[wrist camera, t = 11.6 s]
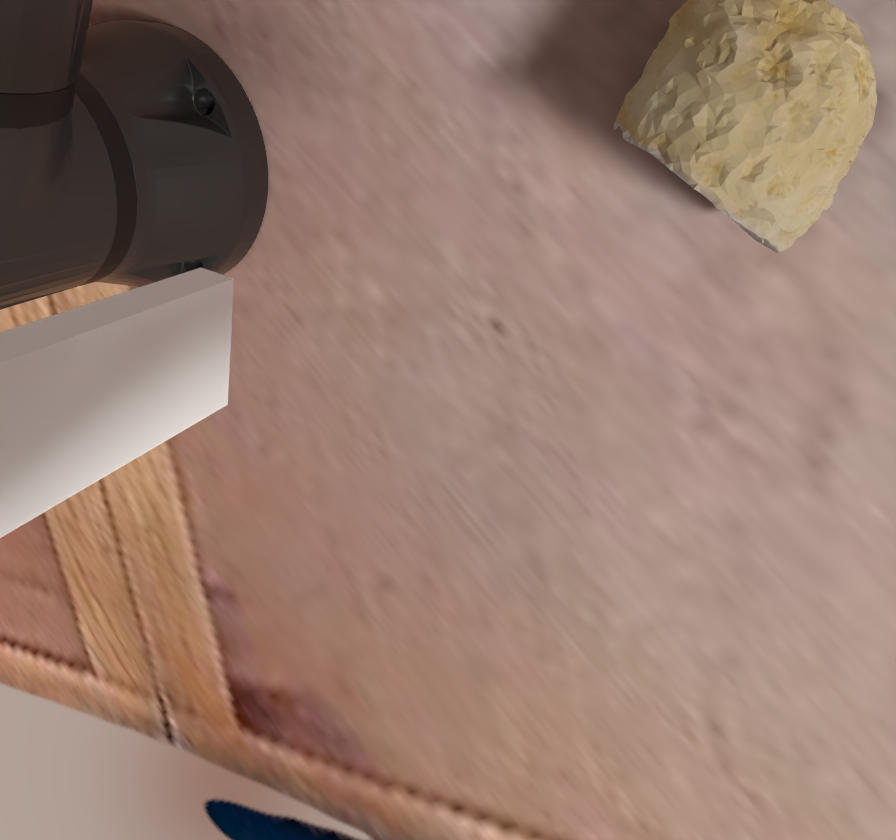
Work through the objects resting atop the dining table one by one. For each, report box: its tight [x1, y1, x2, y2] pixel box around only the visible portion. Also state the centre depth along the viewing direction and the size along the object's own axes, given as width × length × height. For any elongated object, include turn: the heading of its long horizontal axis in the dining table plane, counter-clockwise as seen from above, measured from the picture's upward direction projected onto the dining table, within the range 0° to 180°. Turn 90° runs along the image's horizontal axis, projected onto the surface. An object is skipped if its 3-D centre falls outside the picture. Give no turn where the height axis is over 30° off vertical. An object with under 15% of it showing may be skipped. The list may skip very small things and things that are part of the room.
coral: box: [614, 0, 877, 252], centre depth 30 cm, size 10×10×10 cm
